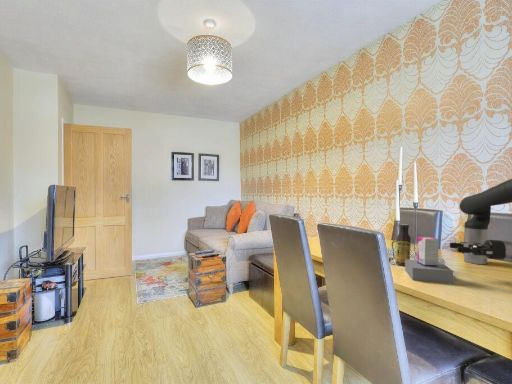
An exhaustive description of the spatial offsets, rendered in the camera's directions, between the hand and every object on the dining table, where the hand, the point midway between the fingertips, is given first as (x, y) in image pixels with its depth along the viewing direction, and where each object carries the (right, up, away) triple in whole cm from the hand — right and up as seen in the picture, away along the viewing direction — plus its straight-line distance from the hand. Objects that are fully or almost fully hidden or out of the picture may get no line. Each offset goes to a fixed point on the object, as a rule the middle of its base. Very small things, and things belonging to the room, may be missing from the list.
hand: (453, 247), depth 112 cm
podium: (-9, -13, +3) cm, 16 cm away
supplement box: (-9, -8, +3) cm, 12 cm away
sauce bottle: (-10, -13, +21) cm, 27 cm away
